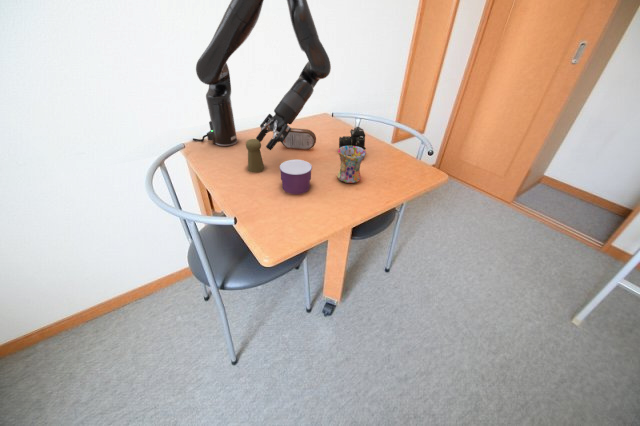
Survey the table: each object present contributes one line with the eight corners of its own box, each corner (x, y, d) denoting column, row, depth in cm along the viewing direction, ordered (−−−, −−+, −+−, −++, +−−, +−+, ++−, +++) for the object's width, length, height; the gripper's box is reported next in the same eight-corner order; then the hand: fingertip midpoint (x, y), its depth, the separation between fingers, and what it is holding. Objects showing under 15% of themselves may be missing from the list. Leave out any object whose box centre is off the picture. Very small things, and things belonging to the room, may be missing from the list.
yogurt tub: (277, 193, 88) (275, 173, 83) (284, 177, 96) (283, 158, 91) (309, 196, 87) (309, 176, 82) (313, 180, 95) (314, 160, 91)
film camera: (331, 145, 121) (332, 122, 115) (356, 142, 124) (359, 120, 118) (346, 162, 107) (348, 138, 101) (374, 159, 111) (378, 135, 105)
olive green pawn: (267, 166, 102) (264, 138, 96) (259, 173, 98) (256, 145, 91) (253, 163, 104) (249, 136, 97) (244, 170, 99) (240, 142, 92)
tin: (316, 148, 117) (316, 129, 112) (315, 151, 115) (315, 131, 110) (281, 145, 118) (280, 126, 113) (280, 148, 116) (279, 129, 111)
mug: (365, 183, 95) (370, 155, 88) (341, 186, 92) (343, 158, 86) (353, 168, 104) (356, 141, 97) (330, 170, 102) (332, 143, 95)
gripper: (273, 95, 97) (247, 132, 99) (293, 105, 88) (263, 146, 90) (287, 108, 103) (262, 143, 105) (306, 119, 94) (279, 157, 95)
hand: (262, 144), depth 97 cm, fingers open, 8 cm apart
